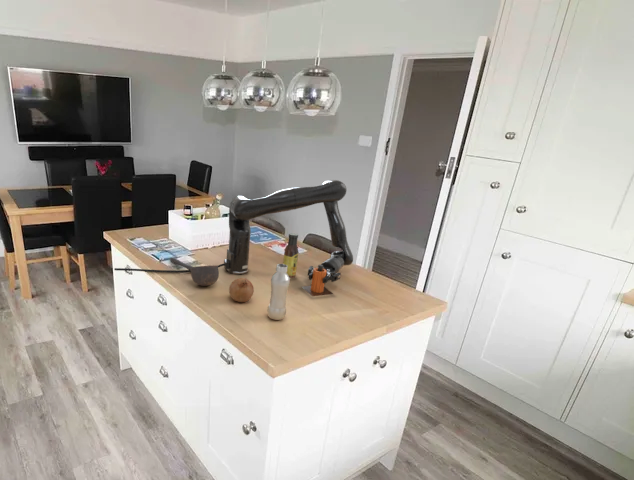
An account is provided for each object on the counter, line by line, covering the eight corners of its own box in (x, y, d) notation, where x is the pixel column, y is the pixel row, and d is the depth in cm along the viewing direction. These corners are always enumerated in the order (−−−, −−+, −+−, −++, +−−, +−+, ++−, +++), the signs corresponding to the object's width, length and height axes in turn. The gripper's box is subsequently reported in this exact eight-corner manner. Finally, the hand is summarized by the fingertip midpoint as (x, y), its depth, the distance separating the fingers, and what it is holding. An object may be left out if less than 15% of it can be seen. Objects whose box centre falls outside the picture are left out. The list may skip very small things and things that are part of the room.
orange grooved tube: (314, 293, 170) (317, 272, 166) (308, 288, 174) (311, 268, 171) (325, 292, 172) (328, 271, 168) (319, 287, 176) (322, 267, 173)
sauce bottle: (294, 280, 184) (300, 237, 175) (280, 278, 185) (285, 235, 176) (296, 275, 190) (301, 233, 181) (282, 273, 191) (287, 231, 182)
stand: (312, 298, 168) (316, 270, 163) (300, 288, 176) (304, 261, 171) (333, 296, 171) (338, 268, 166) (320, 286, 180) (324, 260, 175)
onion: (244, 311, 159) (249, 294, 152) (223, 300, 161) (226, 283, 153) (255, 295, 165) (260, 278, 158) (234, 285, 167) (238, 268, 159)
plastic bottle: (265, 313, 152) (270, 261, 144) (283, 314, 153) (290, 262, 145) (267, 321, 146) (273, 268, 138) (286, 322, 147) (293, 269, 139)
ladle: (200, 288, 163) (199, 262, 161) (159, 279, 194) (158, 258, 192) (225, 286, 170) (225, 261, 168) (181, 278, 200) (181, 257, 199)
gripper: (316, 256, 184) (301, 266, 170) (347, 263, 178) (335, 274, 164) (313, 271, 187) (299, 283, 173) (344, 279, 181) (332, 292, 167)
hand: (316, 279), depth 169 cm, fingers closed on orange grooved tube, 5 cm apart
